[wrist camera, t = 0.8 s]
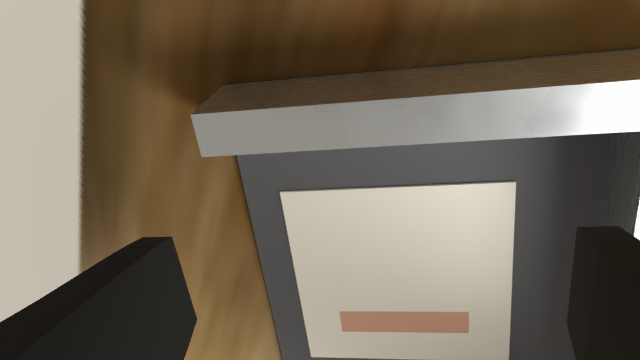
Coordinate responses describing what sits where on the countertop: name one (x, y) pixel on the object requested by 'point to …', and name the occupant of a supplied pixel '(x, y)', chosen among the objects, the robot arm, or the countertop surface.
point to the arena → (431, 200)
